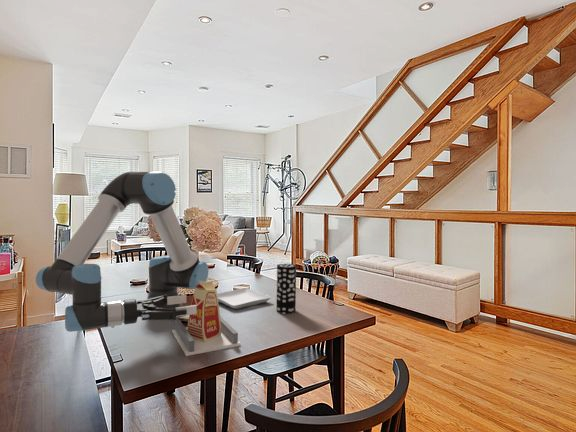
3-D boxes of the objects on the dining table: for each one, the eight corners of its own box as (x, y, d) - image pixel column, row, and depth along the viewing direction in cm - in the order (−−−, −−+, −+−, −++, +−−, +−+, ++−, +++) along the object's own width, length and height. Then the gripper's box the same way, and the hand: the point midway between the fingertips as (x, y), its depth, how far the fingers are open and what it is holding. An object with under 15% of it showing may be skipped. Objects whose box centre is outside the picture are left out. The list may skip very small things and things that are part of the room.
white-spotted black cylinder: (293, 314, 156) (294, 267, 155) (274, 313, 158) (275, 266, 156) (297, 308, 164) (297, 264, 163) (278, 307, 166) (279, 263, 165)
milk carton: (204, 342, 123) (204, 283, 122) (185, 336, 128) (185, 279, 126) (223, 334, 130) (223, 278, 129) (204, 328, 135) (204, 274, 134)
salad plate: (233, 312, 158) (233, 304, 158) (209, 301, 174) (209, 294, 174) (272, 303, 172) (272, 296, 172) (246, 294, 188) (246, 287, 188)
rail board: (172, 332, 134) (172, 320, 134) (220, 324, 143) (220, 313, 142) (186, 356, 115) (186, 341, 115) (240, 345, 123) (240, 332, 123)
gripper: (119, 312, 126) (182, 304, 136) (126, 338, 104) (200, 326, 115) (119, 291, 126) (182, 284, 136) (126, 312, 104) (201, 302, 114)
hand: (191, 303), depth 125 cm, fingers open, 13 cm apart
